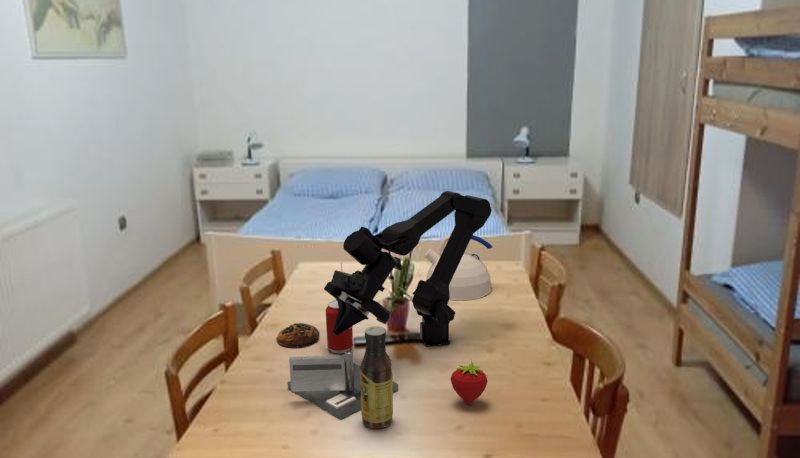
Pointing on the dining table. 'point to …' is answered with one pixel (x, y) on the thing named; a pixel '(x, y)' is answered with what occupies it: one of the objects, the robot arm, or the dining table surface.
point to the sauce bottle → (376, 380)
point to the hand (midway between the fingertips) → (334, 333)
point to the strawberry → (469, 382)
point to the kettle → (465, 273)
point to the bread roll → (298, 335)
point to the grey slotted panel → (322, 373)
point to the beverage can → (342, 340)
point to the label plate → (340, 401)
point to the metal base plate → (322, 396)
